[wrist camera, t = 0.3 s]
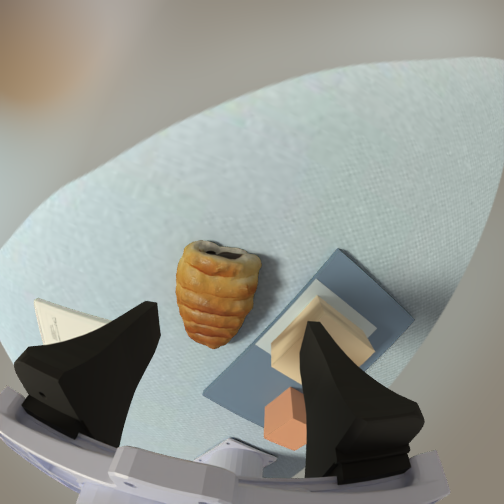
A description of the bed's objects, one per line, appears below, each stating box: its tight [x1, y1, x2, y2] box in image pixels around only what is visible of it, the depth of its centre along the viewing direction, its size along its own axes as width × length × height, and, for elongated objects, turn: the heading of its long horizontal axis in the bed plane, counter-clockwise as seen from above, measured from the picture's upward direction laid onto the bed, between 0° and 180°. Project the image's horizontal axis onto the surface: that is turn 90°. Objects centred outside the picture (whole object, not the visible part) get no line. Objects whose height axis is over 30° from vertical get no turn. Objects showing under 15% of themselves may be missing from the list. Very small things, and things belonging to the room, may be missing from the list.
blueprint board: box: [203, 248, 415, 428], centre depth 24 cm, size 20×11×1 cm, turn 142°
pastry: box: [176, 240, 262, 349], centre depth 22 cm, size 9×7×4 cm
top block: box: [264, 387, 307, 451], centre depth 23 cm, size 4×4×4 cm
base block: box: [271, 295, 375, 385], centre depth 22 cm, size 6×6×4 cm
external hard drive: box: [34, 298, 111, 345], centre depth 26 cm, size 2×8×12 cm
